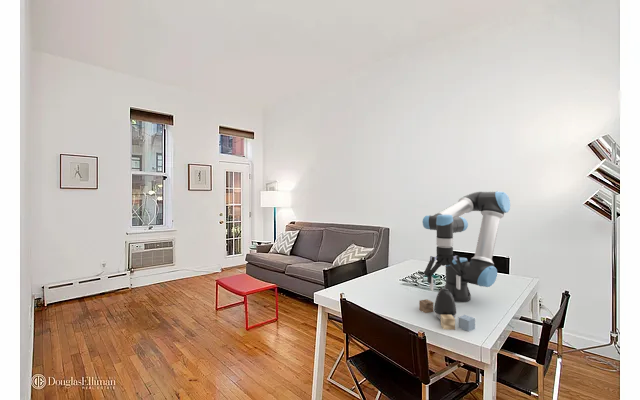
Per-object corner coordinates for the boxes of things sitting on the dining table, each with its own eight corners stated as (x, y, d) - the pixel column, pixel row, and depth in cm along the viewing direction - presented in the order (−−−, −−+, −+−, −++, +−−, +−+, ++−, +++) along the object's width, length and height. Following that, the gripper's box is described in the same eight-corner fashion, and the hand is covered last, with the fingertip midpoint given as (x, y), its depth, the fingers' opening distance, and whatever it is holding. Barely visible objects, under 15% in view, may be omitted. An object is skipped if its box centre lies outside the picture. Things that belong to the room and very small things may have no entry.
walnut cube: (427, 308, 170) (427, 299, 169) (433, 311, 165) (433, 302, 165) (419, 309, 168) (419, 300, 168) (425, 313, 163) (425, 303, 163)
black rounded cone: (450, 314, 161) (450, 284, 160) (460, 322, 151) (460, 291, 150) (430, 314, 161) (430, 285, 160) (439, 323, 150) (439, 292, 150)
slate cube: (464, 325, 148) (464, 314, 148) (474, 329, 144) (474, 318, 144) (458, 327, 146) (458, 317, 146) (468, 331, 142) (468, 320, 141)
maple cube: (451, 325, 149) (451, 314, 149) (455, 329, 144) (454, 319, 144) (440, 324, 149) (440, 314, 149) (443, 329, 144) (443, 318, 144)
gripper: (465, 244, 159) (465, 285, 160) (416, 245, 157) (417, 287, 158) (473, 247, 151) (473, 290, 152) (422, 248, 150) (422, 292, 151)
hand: (444, 289), depth 155 cm, fingers open, 13 cm apart
